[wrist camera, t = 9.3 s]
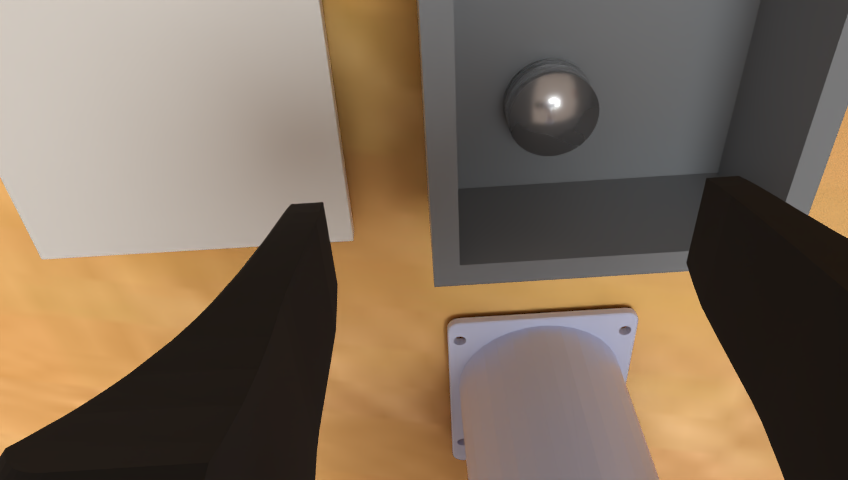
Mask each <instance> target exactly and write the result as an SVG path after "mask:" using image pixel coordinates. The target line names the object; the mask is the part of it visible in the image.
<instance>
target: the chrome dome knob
mask: <svg viewBox="0 0 848 480" xmlns="http://www.w3.org/2000/svg"><path fill="white" fill-rule="evenodd" d="M504 112H505V115H506V119H507V122H508V126H509V129H510V132H511V135H512V137H513V139H514V140H515V141H516V143H517V144H518V145H519V146H520V147H521V148H523V149H524V150H526V151H528V152H530V153H532V154H535V155H539V156H557V155H561V154H564V153H567V152H569V151H572V150H574V149H575V148H577V147H578V146H580V145H581V144H582V143H583V142H584V141H586V140H587V138H588V137H589V136H590V135H591V133H592V132H593V130H594V128H595V126H596V124H597V121H598V117H599V102H598V98H597V96H596V93H595V92H594V90H593V88H592V86H591V84H590V82H589V81H588V79H587V77H586V75H585V74H584V72H583V71H582V70H581V69H580V68H579V67H578V66H576V65H575V64H573V63H571V62H569V61H567V60H563V59H557V58H548V59H542V60H538V61H535V62H532V63H531V64H529V65H527V66H525V67H524V68H522V69H521V70H520V71H519V72H518V73H517V74H516V75H515V76H514V77H513V78H512V80H511V81H510V83H509V84H508V86H507V89H506V91H505V95H504Z"/></svg>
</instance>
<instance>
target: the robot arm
mask: <svg viewBox="0 0 848 480" xmlns="http://www.w3.org/2000/svg"><path fill="white" fill-rule="evenodd" d="M686 264H687V267H688V270H689V273H690V276H691V279H692V282H693V285H694V288H695V290H696V293H697V296H698V298H699V301H700V304H701V306H702V309H703V310H704V312H705V314H706V316H707V318H708V320H709V322H710V324H711V326H712V328H713V330H714V332H715V334H716V336H717V337H718V339H719V341H720V343H721V345H722V347H723V349H724V350H725V352H726V354H727V356H728V358H729V360H730V362H731V363H732V365H733V367H734V369H735V371H736V373H737V375H738V376H739V378H740V380H741V382H742V384H743V386H744V388H745V389H746V391H747V393H748V395H749V397H750V399H751V401H752V403H753V405H754V407H755V409H756V411H757V413H758V415H759V417H760V419H761V421H762V424H763V426H764V428H765V431H766V433H767V436H768V438H769V441H770V443H771V446H772V449H773V451H774V454H775V456H776V459H777V461H778V464H779V466H780V469H781V471H782V474H783V477H784V480H848V238H846V237H844V236H842V235H840V234H839V233H837V232H835V231H834V230H832V229H830V228H828V227H827V226H825V225H823V224H822V223H820V222H818V221H816V220H815V219H813V218H811V217H810V216H808V215H806V214H805V213H803V212H801V211H800V210H798V209H796V208H795V207H793V206H791V205H790V204H788V203H786V202H785V201H783V200H782V199H780V198H778V197H777V196H775V195H773V194H771V193H770V192H768V191H766V190H765V189H763V188H761V187H759V186H758V185H756V184H754V183H752V182H750V181H748V180H746V179H744V178H742V177H740V176H729V177H713V178H706V182H705V186H704V190H703V194H702V199H701V203H700V207H699V211H698V215H697V220H696V224H695V228H694V232H693V236H692V241H691V245H690V249H689V253H688V257H687V262H686ZM336 313H337V279H336V274H335V268H334V262H333V256H332V250H331V244H330V238H329V233H328V227H327V221H326V215H325V209H324V203H323V202H316V203H300V204H291V205H290V206H289V207H288V208H287V209H286V210H285V212H284V213H283V214H282V216H281V217H280V219H279V220H278V221H277V223H276V224H275V226H274V227H273V228H272V230H271V231H270V233H269V234H268V235H267V237H266V238H265V239H264V241H263V242H262V243H261V245H260V246H259V247H258V249H257V250H256V251H255V252H254V254H253V255H252V256H251V258H250V259H249V260H248V261H247V263H246V264H245V265H244V266H243V268H242V269H241V270H240V271H239V273H238V274H237V275H236V276H235V277H234V278H233V280H232V281H231V282H230V283H229V284H228V285H227V286H226V287H225V288H224V290H223V291H222V292H221V293H220V294H219V295H218V296H217V297H216V299H215V300H214V301H213V302H212V303H211V304H210V305H209V306H208V307H207V308H206V309H205V310H204V311H203V312H202V313H201V314H200V315H199V316H198V317H197V318H196V319H195V320H194V321H193V322H192V323H191V324H190V325H189V326H187V327H186V328H185V329H184V330H183V331H182V332H181V333H180V334H179V335H178V336H176V337H175V338H174V339H173V340H172V341H171V342H169V343H168V344H167V345H166V346H164V347H163V348H162V349H160V350H159V351H158V352H157V353H155V354H154V355H153V356H151V357H150V358H149V359H148V360H146V361H145V362H144V363H143V364H141V365H140V366H139V367H137V368H136V369H135V370H134V371H132V372H131V373H130V374H128V375H127V376H125V377H124V378H122V379H121V380H120V381H118V382H117V383H115V384H114V385H112V386H111V387H109V388H108V389H107V390H105V391H103V392H102V393H100V394H99V395H97V396H96V397H94V398H93V399H91V400H90V401H88V402H86V403H85V404H83V405H82V406H80V407H78V408H77V409H75V410H74V411H72V412H70V413H69V414H67V415H65V416H63V417H62V418H60V419H58V420H56V421H55V422H53V423H51V424H49V425H47V426H46V427H44V428H42V429H40V430H38V431H37V432H35V433H33V434H31V435H30V436H28V437H26V438H24V439H22V440H21V441H19V442H17V443H15V444H13V445H11V446H9V447H7V448H5V450H4V452H3V453H2V455H1V456H0V480H315V473H316V456H317V445H318V437H319V429H320V423H321V417H322V411H323V405H324V399H325V393H326V387H327V381H328V375H329V369H330V363H331V357H332V351H333V344H334V338H335V332H336ZM637 324H638V316H637V314H636V312H635V311H634V310H633V309H631V308H613V309H597V310H581V311H565V312H549V313H533V314H517V315H501V316H485V317H469V318H457V319H453V320H452V321H450V322H449V324H448V326H447V333H448V357H449V380H450V404H451V428H452V450H453V456H454V457H455V458H456V459H459V460H466V463H467V473H468V480H659V477H658V474H657V472H656V469H655V466H654V463H653V460H652V457H651V455H650V452H649V449H648V446H647V443H646V440H645V438H644V435H643V432H642V429H641V426H640V423H639V421H638V418H637V415H636V412H635V409H634V406H633V404H632V401H631V398H630V395H629V392H628V389H627V387H626V380H627V375H628V370H629V365H630V360H631V355H632V350H633V345H634V339H635V334H636V329H637ZM624 326H627V327H625V328H622V327H624ZM456 337H463V338H460V339H458V338H456Z"/></svg>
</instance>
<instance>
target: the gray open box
mask: <svg viewBox="0 0 848 480" xmlns="http://www.w3.org/2000/svg"><path fill="white" fill-rule="evenodd" d="M417 16H418V33H419V51H420V68H421V86H422V103H423V120H424V138H425V155H426V173H427V190H428V205H429V219H430V233H431V246H432V260H433V273H434V287H442V286H458V285H474V284H490V283H506V282H522V281H538V280H554V279H570V278H586V277H602V276H618V275H634V274H650V273H666V272H681V271H689V270H688V267H687V264H686V262H687V257H688V253H689V249H690V245H691V241H692V236H693V232H694V228H695V224H696V220H697V215H698V211H699V207H700V203H701V199H702V194H703V190H704V186H705V182H706V178H713V177H729V176H740V177H742V178H744V179H746V180H748V181H750V182H752V183H754V184H756V185H758V186H759V187H761V188H763V189H765V190H766V191H768V192H770V193H771V194H773V195H775V196H777V197H778V198H780V199H782V200H783V201H785V202H786V203H788V204H790V205H791V206H793V207H795V208H796V209H798V210H800V211H801V212H803V213H805V214H806V215H808V214H809V211H810V209H811V206H812V203H813V200H814V198H815V195H816V192H817V189H818V186H819V184H820V181H821V178H822V175H823V173H824V170H825V167H826V164H827V161H828V159H829V156H830V153H831V150H832V148H833V145H834V142H835V139H836V136H837V134H838V131H839V128H840V125H841V123H842V120H843V117H844V114H845V111H846V109H847V106H848V0H417ZM548 58H557V59H563V60H567V61H569V62H571V63H573V64H575V65H576V66H578V67H579V68H580V69H581V70H582V71H583V72H584V74H585V75H586V77H587V79H588V81H589V82H590V84H591V86H592V88H593V90H594V92H595V93H596V96H597V98H598V102H599V117H598V121H597V124H596V126H595V128H594V130H593V132H592V133H591V135H590V136H589V137H588V138H587V140H586V141H584V142H583V143H582V144H581V145H580V146H578V147H577V148H575V149H574V150H572V151H569V152H567V153H564V154H561V155H557V156H539V155H535V154H532V153H530V152H528V151H526V150H524V149H523V148H521V147H520V146H519V145H518V144H517V143H516V141H515V140H514V139H513V137H512V135H511V132H510V129H509V126H508V122H507V119H506V115H505V112H504V95H505V91H506V89H507V86H508V84H509V83H510V81H511V80H512V78H513V77H514V76H515V75H516V74H517V73H518V72H519V71H520V70H521V69H522V68H524V67H525V66H527V65H529V64H531V63H532V62H535V61H538V60H542V59H548Z"/></svg>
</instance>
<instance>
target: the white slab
mask: <svg viewBox="0 0 848 480" xmlns="http://www.w3.org/2000/svg"><path fill="white" fill-rule="evenodd" d="M0 178H1V180H2V182H3V184H4V186H5V188H6V190H7V191H8V193H9V195H10V197H11V199H12V201H13V203H14V205H15V207H16V209H17V211H18V213H19V215H20V217H21V219H22V221H23V223H24V225H25V227H26V229H27V231H28V233H29V235H30V237H31V239H32V241H33V243H34V245H35V247H36V249H37V251H38V253H39V255H40V257H41V259H57V258H74V257H91V256H107V255H124V254H141V253H157V252H174V251H191V250H207V249H224V248H241V247H258V246H260V245H261V243H262V242H263V241H264V239H265V238H266V237H267V235H268V234H269V233H270V231H271V230H272V228H273V227H274V226H275V224H276V223H277V221H278V220H279V219H280V217H281V216H282V214H283V213H284V212H285V210H286V209H287V208H288V207H289V206H290V205H291V204H300V203H316V202H323V203H324V209H325V215H326V221H327V227H328V233H329V238H330V242H341V241H353V239H354V226H353V219H352V212H351V205H350V198H349V191H348V183H347V176H346V169H345V162H344V155H343V148H342V141H341V134H340V127H339V120H338V113H337V105H336V98H335V91H334V84H333V77H332V70H331V63H330V56H329V49H328V42H327V34H326V27H325V20H324V13H323V6H322V0H0Z"/></svg>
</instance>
